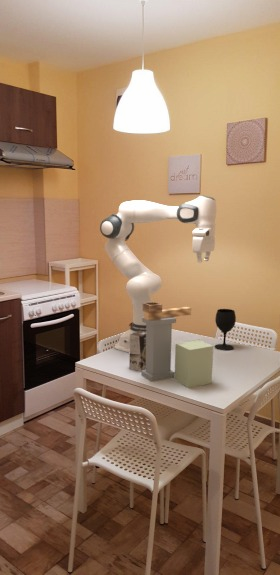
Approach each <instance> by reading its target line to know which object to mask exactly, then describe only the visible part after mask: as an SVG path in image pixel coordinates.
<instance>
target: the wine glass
mask: <svg viewBox="0 0 280 575" xmlns="http://www.w3.org/2000/svg"><path fill="white" fill-rule="evenodd" d="M236 318H237V317H236V312H235V310H233V309H231V308H219V309H217V311H216V314H215V324H216V328H218V330H220V331H221V333H222V334H223V342H222V343H218V344H217V343H216V344H215V345H214V346H213V348H214V349H216V350H220V351H233V350H234V349H235V347H234V346H233V345H231V344H228V343H226V338H227V334H228V332H230V331H232V330H233V328H234V327H235V325H236V320H237V319H236Z"/></svg>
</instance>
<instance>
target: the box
mask: <svg viewBox="0 0 280 575" xmlns="http://www.w3.org/2000/svg"><path fill="white" fill-rule="evenodd" d="M174 352H175V354H174V356H175V357H174V372H175V376H174V381H176V382H177V383H179V384H180V385H182V386H185V387H186V388H188V389H189V388H195V387H199V386H203V385H208V384H212V383H213V365H214V364H213V360H214V346H213V345H212V344H210V343H208V342H206V341H205V342H204V341H203V340H200V339H196V340H191V341H190V340H188V341H182V342H178V343H177V342H176V343H175V351H174Z"/></svg>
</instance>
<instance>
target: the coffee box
mask: <svg viewBox="0 0 280 575" xmlns="http://www.w3.org/2000/svg"><path fill="white" fill-rule="evenodd" d="M128 367H129V369H132V370H134V371H139V372H141V371H144V370H146V331H140V330H139V331H137V332H135V333H132V334H130V353H129V366H128Z"/></svg>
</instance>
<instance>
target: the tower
mask: <svg viewBox="0 0 280 575" xmlns="http://www.w3.org/2000/svg"><path fill="white" fill-rule="evenodd" d="M142 322H144V323H146V368H145V369H143V370H141V371H140V372H141V377H143V378H144V379H146V380H147V381H149V382H155V381H161V380H164V379H170V378H175V371H174V370H172V369H171V364H172V363H171V362H172V361H171V360H172V332H173V331H172V330H173V329H172V327H173V325H172V324H176V323H177V318H176V317H169V318H161V319H152V320H146V319H144V317H142Z"/></svg>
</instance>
